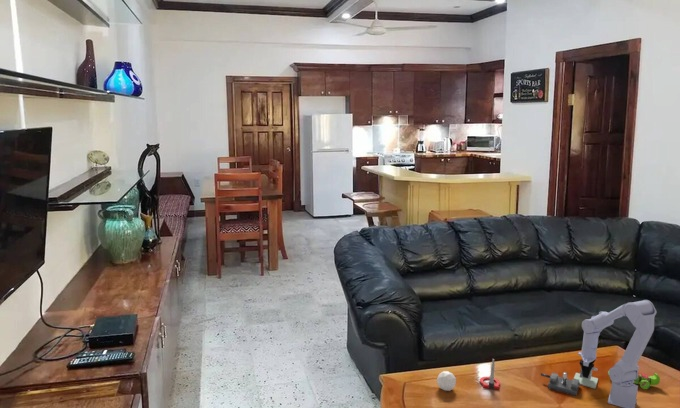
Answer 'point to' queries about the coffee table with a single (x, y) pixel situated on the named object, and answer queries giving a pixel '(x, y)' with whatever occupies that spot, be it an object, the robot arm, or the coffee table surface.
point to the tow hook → (492, 380)
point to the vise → (563, 383)
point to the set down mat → (587, 381)
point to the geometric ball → (446, 380)
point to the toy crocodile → (646, 380)
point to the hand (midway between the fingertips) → (586, 374)
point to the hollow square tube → (589, 374)
